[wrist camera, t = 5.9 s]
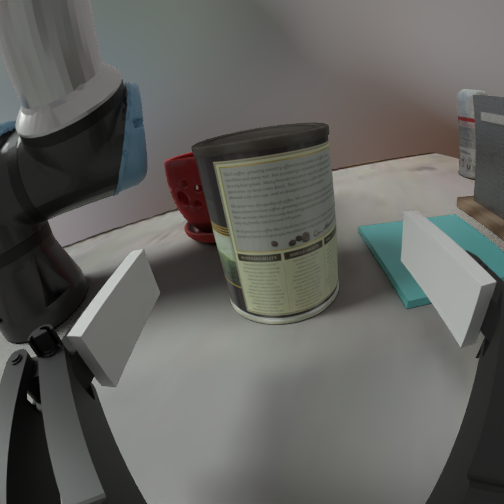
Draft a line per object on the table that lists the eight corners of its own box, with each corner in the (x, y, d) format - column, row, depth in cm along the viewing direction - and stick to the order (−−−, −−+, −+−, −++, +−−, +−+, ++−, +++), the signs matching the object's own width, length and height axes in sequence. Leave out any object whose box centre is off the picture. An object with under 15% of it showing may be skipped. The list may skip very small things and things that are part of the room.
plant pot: (282, 236, 37) (267, 142, 31) (180, 259, 36) (154, 167, 31) (263, 206, 48) (250, 136, 43) (186, 223, 48) (169, 154, 42)
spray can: (495, 183, 43) (493, 90, 34) (464, 179, 46) (460, 85, 37) (483, 173, 49) (480, 91, 40) (454, 170, 53) (450, 87, 44)
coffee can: (207, 302, 27) (164, 151, 20) (273, 253, 33) (251, 128, 27) (300, 342, 20) (274, 137, 14) (357, 272, 27) (349, 120, 20)
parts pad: (358, 232, 34) (358, 226, 33) (454, 219, 32) (455, 214, 32) (406, 308, 21) (408, 301, 20) (522, 277, 19) (524, 270, 18)
